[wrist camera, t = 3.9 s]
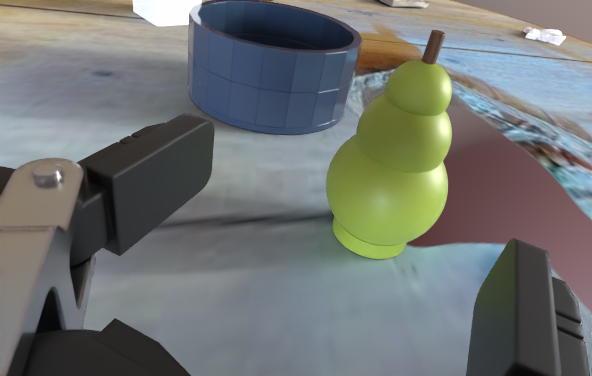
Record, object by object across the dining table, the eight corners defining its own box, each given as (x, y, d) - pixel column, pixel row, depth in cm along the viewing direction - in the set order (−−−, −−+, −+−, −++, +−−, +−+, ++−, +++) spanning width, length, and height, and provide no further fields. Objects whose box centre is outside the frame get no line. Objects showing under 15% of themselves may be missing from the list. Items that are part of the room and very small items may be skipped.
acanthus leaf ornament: (558, 39, 84) (563, 29, 82) (566, 48, 78) (572, 38, 77) (519, 30, 85) (524, 20, 84) (524, 38, 79) (529, 27, 78)
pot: (353, 89, 43) (370, 24, 40) (328, 152, 32) (348, 68, 28) (225, 56, 45) (229, -9, 41) (157, 105, 33) (155, 20, 30)
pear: (423, 216, 27) (502, 32, 21) (422, 288, 22) (529, 72, 15) (326, 189, 28) (373, 2, 21) (304, 252, 23) (357, 31, 16)
